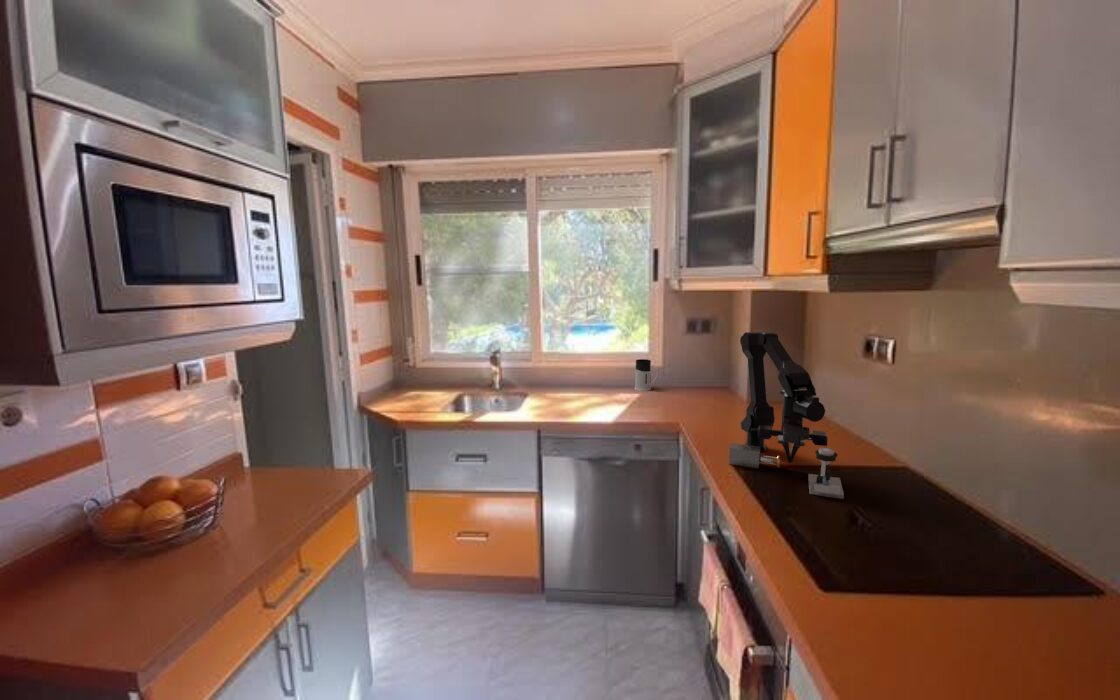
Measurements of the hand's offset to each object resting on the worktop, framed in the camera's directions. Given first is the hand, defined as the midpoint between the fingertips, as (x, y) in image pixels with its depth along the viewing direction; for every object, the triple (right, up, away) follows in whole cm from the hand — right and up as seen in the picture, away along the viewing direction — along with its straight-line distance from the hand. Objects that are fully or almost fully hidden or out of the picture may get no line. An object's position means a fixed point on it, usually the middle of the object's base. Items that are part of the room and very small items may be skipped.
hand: (789, 462), depth 152 cm
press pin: (-7, -1, +3) cm, 7 cm away
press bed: (+4, -4, -13) cm, 14 cm away
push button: (+4, -3, -13) cm, 14 cm away
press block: (-12, -2, +6) cm, 13 cm away
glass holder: (-25, +13, +107) cm, 111 cm away
